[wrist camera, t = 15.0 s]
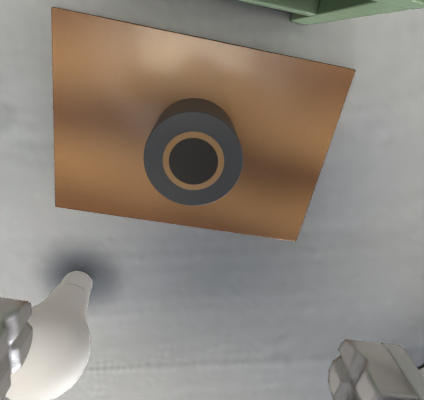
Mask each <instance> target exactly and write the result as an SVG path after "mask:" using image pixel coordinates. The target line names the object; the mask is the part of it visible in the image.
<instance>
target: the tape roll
mask: <svg viewBox="0 0 424 400" xmlns="http://www.w3.org/2000/svg"><path fill="white" fill-rule="evenodd" d="M143 160H144V167H145V171H146V174H147V177H148V179H149V180H150V182H151V184H152V185H153V186H154V188H155V189H156V190H157V191H158V192H159V193H160V194H162V195H163V196H164V197H166V198H167V199H169V200H171V201H173V202H175V203H178V204H182V205H188V206H200V205H206V204H210V203H212V202H215V201H217V200H219V199H221V198H222V197H223V196H225V195H226V194H227V193H228V192H229V191H230V190H231V189H232V188H233V187H234V186H235V184H236V183H237V181H238V179H239V177H240V174H241V171H242V166H243V151H242V147H241V144H240V141H239V139H238V136H237V134H236V131H235V128H234V126H233V123H232V121H231V119H230V117H229V116H228V115H227V113H226V112H225V111H224V110H223V109H222V108H221V107H219V106H218V105H216V104H215V103H213V102H211V101H208V100H205V99H200V98H188V99H183V100H180V101H178V102H175V103H173V104H172V105H170V106H169V107H168V108H167V109H165V111H164V112H163V113H162V114H161V115H160V117H159V118H158V120H157V122H156V124H155V126H154V128H153V130H152V131H151V133H150V135H149V137H148V139H147V142H146V145H145V148H144V158H143Z"/></svg>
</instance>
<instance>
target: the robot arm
mask: <svg viewBox="0 0 424 400" xmlns="http://www.w3.org/2000/svg"><path fill="white" fill-rule="evenodd" d="M31 315H32V308H31V303H30V302H28V301H21V300H14V299H8V298H1V297H0V400H3V398H4V397H5V395H6V393H7V391H8V390H9V388H10V386H11V376H10V375H11V374H12V373H14V372H15V371H17V370H18V369H20V368H21V367H22V365H23V363H24V361H25V360H26V358H27V355H28V353H29V350H30V347H31V344H32V337H33V327H32V326H31V325H30V324H29V323H28V322H27V321H28V319H29V318H30V316H31ZM338 351H339V353H340V355H341V356H339V357H338V358H336V359H335V360H333V361H332V363H331V366H330V368H329V375H328V382H329V388H330V391H331V394H332V397H333V399H334V400H424V367H422V368H421V369H419V370H418V368H417V367H416V365H415V364H414V362H413V361H412V359H411V358H410V357H409V355H408V354H407V352H406V351H405V349H404V348H402V347H401V346H400V345H394V344H384V343H375V342H365V341H356V340H347V339H345V340H344V341H343V342H341V344H340V346H339V348H338Z"/></svg>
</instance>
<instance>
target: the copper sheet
mask: <svg viewBox="0 0 424 400" xmlns="http://www.w3.org/2000/svg"><path fill="white" fill-rule="evenodd" d="M51 10H52V60H53V110H54V160H55V207H60V208H67V209H74V210H81V211H88V212H95V213H102V214H109V215H116V216H122V217H129V218H136V219H143V220H150V221H157V222H164V223H171V224H178V225H185V226H192V227H199V228H205V229H212V230H219V231H226V232H233V233H240V234H247V235H254V236H261V237H268V238H275V239H281V240H288V241H295V242H296V240H297V237H298V234H299V231H300V228H301V225H302V223H303V220H304V217H305V214H306V211H307V208H308V205H309V202H310V200H311V197H312V194H313V191H314V188H315V185H316V182H317V180H318V177H319V174H320V171H321V168H322V165H323V162H324V159H325V157H326V154H327V151H328V148H329V145H330V142H331V139H332V137H333V134H334V131H335V128H336V125H337V122H338V119H339V116H340V114H341V111H342V108H343V105H344V102H345V99H346V96H347V94H348V91H349V88H350V85H351V82H352V79H353V76H354V73H355V70H354V69H349V68H344V67H340V66H335V65H330V64H325V63H320V62H315V61H311V60H306V59H301V58H296V57H291V56H287V55H282V54H277V53H272V52H267V51H262V50H258V49H253V48H248V47H243V46H238V45H234V44H229V43H224V42H219V41H214V40H209V39H205V38H200V37H195V36H190V35H185V34H181V33H176V32H171V31H166V30H161V29H156V28H152V27H147V26H142V25H137V24H132V23H128V22H123V21H118V20H113V19H108V18H103V17H99V16H94V15H89V14H84V13H79V12H75V11H70V10H65V9H60V8H55V7H51ZM188 98H200V99H205V100H208V101H211V102H213V103H215V104H216V105H218V106H219V107H221V108H222V109H223V110H224V111H225V112H226V113H227V115H228V116H229V117H230V119H231V121H232V123H233V126H234V128H235V131H236V134H237V136H238V139H239V141H240V144H241V147H242V151H243V166H242V171H241V174H240V177H239V179H238V181H237V183H236V184H235V186H234V187H233V188H232V189H231V190H230V191H229V192H228V193H227V194H226V195H225V196H223V197H222V198H221V199H219V200H217V201H215V202H212V203H210V204H206V205H200V206H188V205H182V204H178V203H175V202H173V201H171V200H169V199H167V198H166V197H164V196H163V195H162V194H160V193H159V192H158V191H157V190H156V189H155V188H154V186H153V185H152V184H151V182H150V180H149V179H148V177H147V174H146V171H145V167H144V160H143V158H144V148H145V145H146V142H147V139H148V137H149V135H150V133H151V131H152V130H153V128H154V126H155V124H156V122H157V120H158V118H159V117H160V115H161V114H162V113H163V112H164V111H165V109H167V108H168V107H169V106H170V105H172V104H173V103H175V102H178V101H180V100H183V99H188Z"/></svg>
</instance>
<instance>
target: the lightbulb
mask: <svg viewBox="0 0 424 400" xmlns="http://www.w3.org/2000/svg"><path fill="white" fill-rule="evenodd" d="M92 286H93V282H92V279H91V278H90V277H89V275H87V274H86V273H84V272H81V271H73V272H70V273H68V274H66V276H65V277H64V278H63V280H62V281H61V283H60V284H59V286H57V287H56V288H54V289H53V290H52V291H51V293H50V294H49V296H48V297H47V298H46V299H45V300H44V301H43V302H42V303H40V304H39V305H36V306H34V307H32V315H31V316H30V318H29V319H28V321H27V322H28V323H29V324H30V325H31V326H32V327H33V337H32V344H31V347H30V350H29V353H28V355H27V358H26V360H25V361H24V363H23V365H22V367H21V368H20V369H18V370H17V371H15V372H14V373H12V374H11V375H10V376H11V386H10V388H9V390H8V391H7V393H6V395H5V396H6V397H7V398H9V399H11V400H52V399H54V398H56V397H58V396H60V395H62V394H63V393H65V392H66V391H67V390H69V389H70V388H71V387H72V386H73V385H74V384H75V383H76V382H77V380H78V379H79V378H80V376H81V375H82V373H83V371H84V370H85V368H86V366H87V363H88V360H89V357H90V351H91V339H90V334H89V329H88V326H87V323H86V312H87V308H88V305H89V295H90V292H91V289H92Z"/></svg>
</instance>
